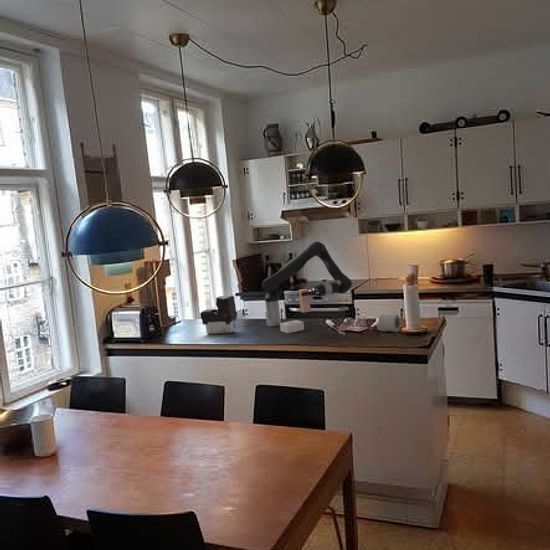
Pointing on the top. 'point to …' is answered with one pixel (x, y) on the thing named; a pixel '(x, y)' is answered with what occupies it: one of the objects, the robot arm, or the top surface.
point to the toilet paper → (389, 323)
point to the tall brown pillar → (304, 301)
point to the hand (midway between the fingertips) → (299, 294)
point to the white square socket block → (292, 326)
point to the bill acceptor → (220, 316)
